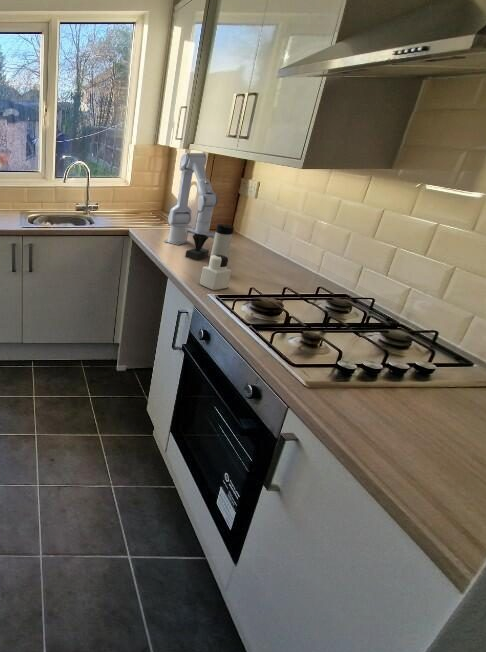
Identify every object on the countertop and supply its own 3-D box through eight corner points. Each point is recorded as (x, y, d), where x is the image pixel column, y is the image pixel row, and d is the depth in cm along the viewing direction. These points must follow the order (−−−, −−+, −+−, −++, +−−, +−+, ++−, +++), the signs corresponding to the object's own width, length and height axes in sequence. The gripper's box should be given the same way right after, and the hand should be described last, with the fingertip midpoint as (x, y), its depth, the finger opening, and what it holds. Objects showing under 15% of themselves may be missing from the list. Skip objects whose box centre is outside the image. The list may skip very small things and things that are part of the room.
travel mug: (203, 270, 174) (213, 223, 166) (214, 268, 177) (225, 222, 168) (215, 275, 169) (226, 227, 161) (227, 273, 172) (238, 225, 163)
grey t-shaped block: (198, 253, 196) (199, 247, 195) (207, 256, 192) (209, 249, 191) (190, 255, 193) (191, 249, 191) (200, 258, 189) (201, 252, 188)
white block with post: (213, 281, 162) (219, 252, 157) (227, 288, 156) (234, 257, 151) (199, 284, 160) (205, 254, 155) (213, 290, 154) (219, 260, 149)
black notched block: (192, 254, 194) (193, 248, 193) (203, 258, 190) (205, 251, 188) (185, 256, 191) (186, 250, 190) (197, 260, 187) (198, 253, 185)
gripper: (184, 219, 188) (178, 248, 193) (214, 225, 177) (208, 256, 183) (192, 217, 191) (187, 245, 197) (222, 223, 181) (216, 253, 187)
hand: (197, 250), depth 190 cm, fingers closed, pressing on grey t-shaped block
